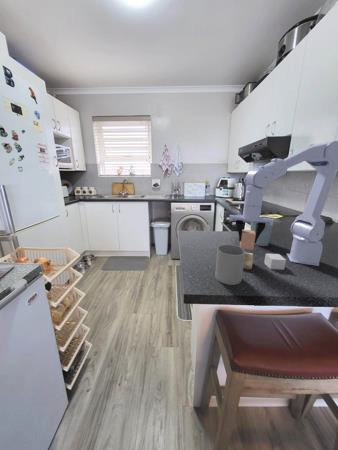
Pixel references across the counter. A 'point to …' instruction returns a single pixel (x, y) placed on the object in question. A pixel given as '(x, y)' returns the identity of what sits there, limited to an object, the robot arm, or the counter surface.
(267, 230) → the teal round container
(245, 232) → the terracotta block
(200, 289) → the counter surface
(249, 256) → the oak base block
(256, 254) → the counter surface
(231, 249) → the cup
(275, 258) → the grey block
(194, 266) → the counter surface
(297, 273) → the counter surface
